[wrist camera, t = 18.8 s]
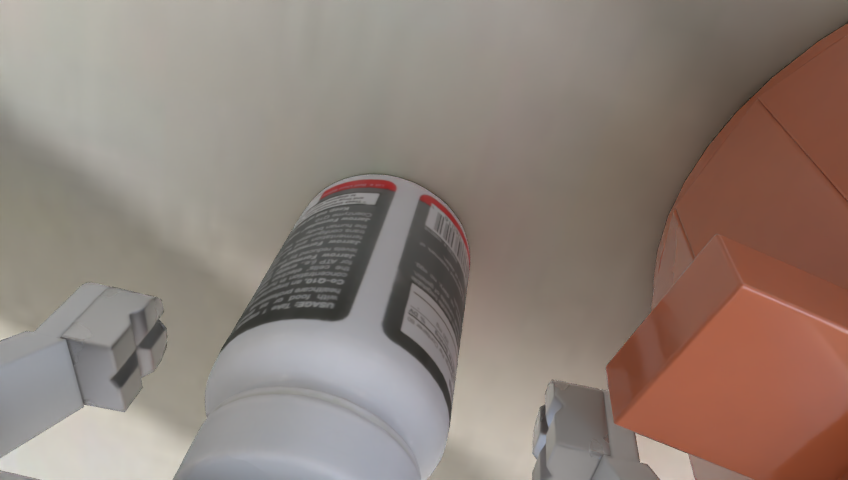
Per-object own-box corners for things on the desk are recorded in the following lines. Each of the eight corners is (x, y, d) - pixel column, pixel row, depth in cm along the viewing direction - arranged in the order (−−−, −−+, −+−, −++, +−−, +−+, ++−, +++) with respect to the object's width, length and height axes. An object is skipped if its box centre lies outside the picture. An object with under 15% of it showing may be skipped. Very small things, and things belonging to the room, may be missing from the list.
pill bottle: (285, 282, 18) (129, 563, 11) (322, 142, 15) (147, 396, 8) (438, 336, 18) (381, 644, 11) (500, 208, 15) (476, 507, 9)
